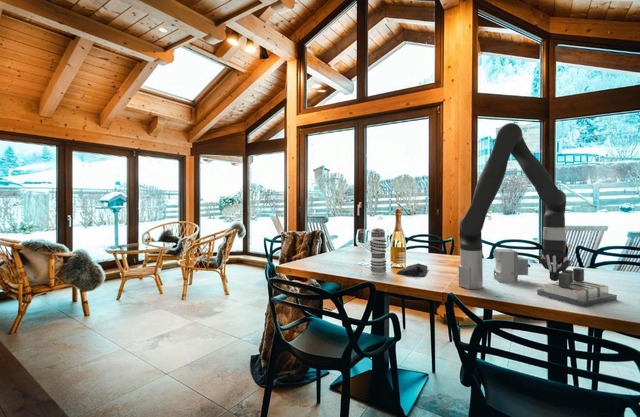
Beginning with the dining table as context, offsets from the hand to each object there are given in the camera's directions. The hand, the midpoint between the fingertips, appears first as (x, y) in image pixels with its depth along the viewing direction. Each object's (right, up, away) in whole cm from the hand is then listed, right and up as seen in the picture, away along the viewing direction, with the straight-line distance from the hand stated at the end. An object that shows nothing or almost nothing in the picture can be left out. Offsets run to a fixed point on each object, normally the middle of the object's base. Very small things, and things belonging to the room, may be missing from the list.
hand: (554, 280), depth 127 cm
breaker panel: (+8, -7, -1) cm, 10 cm away
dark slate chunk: (-42, -7, +49) cm, 65 cm away
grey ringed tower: (-62, -7, +48) cm, 79 cm away
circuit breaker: (-1, -6, +26) cm, 27 cm away
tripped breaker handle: (+1, -1, -4) cm, 4 cm away
